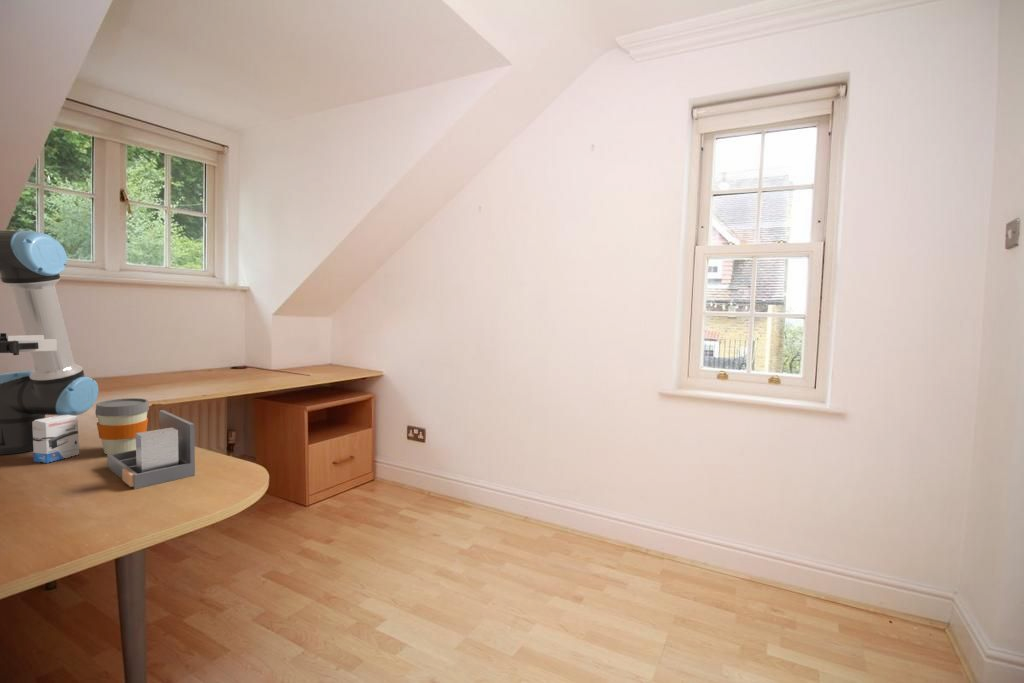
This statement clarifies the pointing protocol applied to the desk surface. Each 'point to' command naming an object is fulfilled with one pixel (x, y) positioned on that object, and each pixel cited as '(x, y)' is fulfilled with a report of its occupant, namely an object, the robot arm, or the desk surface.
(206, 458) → the desk surface
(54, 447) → the ink box
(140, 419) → the reusable coffee cup
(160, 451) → the brushed metal block
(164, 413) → the rack
